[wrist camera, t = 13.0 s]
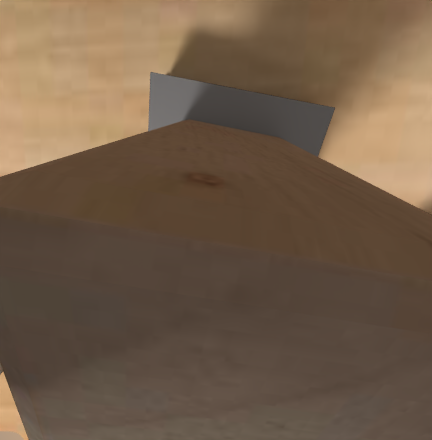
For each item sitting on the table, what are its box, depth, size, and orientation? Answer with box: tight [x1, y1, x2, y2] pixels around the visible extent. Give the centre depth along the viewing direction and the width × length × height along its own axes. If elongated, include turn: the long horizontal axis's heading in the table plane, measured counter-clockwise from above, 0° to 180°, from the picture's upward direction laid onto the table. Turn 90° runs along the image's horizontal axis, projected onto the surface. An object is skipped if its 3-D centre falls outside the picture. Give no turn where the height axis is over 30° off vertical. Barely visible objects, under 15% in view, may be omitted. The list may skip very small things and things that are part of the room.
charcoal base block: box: [148, 72, 335, 157], centre depth 26 cm, size 16×16×6 cm
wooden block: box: [0, 119, 432, 440], centre depth 14 cm, size 10×10×20 cm
